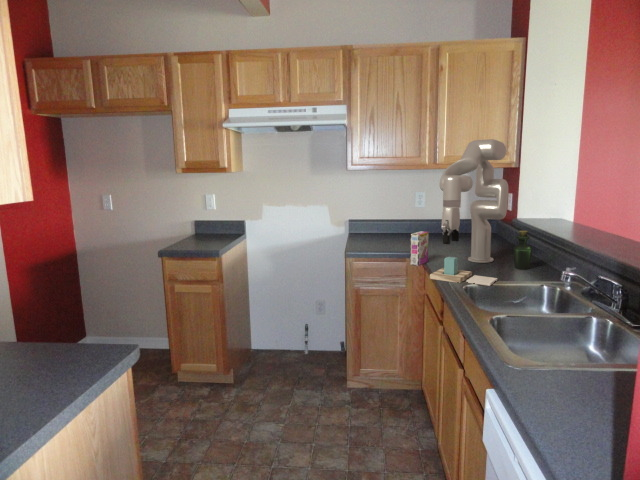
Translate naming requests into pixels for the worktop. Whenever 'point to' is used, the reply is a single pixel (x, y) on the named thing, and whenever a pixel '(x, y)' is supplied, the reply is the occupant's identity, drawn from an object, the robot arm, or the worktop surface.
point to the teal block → (451, 265)
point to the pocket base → (451, 276)
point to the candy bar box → (419, 248)
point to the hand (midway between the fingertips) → (450, 242)
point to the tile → (482, 280)
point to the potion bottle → (522, 252)
